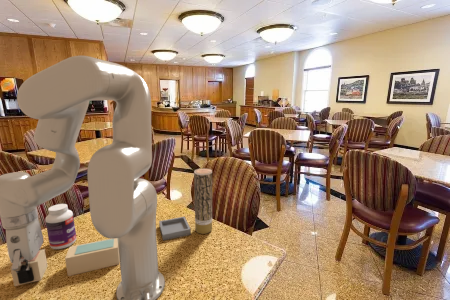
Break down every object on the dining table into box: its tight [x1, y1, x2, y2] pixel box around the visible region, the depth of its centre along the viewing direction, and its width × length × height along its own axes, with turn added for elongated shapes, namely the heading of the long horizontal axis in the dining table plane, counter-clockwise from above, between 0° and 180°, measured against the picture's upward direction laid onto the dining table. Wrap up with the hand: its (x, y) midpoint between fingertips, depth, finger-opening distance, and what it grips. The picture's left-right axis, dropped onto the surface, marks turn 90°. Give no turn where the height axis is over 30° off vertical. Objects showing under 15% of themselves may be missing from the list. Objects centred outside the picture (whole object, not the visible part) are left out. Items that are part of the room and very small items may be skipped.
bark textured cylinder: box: [193, 167, 213, 235], centre depth 91 cm, size 7×7×25 cm
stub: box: [9, 248, 48, 287], centre depth 67 cm, size 6×6×6 cm
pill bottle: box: [45, 203, 77, 250], centre depth 82 cm, size 8×8×14 cm
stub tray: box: [158, 216, 192, 241], centre depth 93 cm, size 11×11×2 cm
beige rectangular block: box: [64, 238, 120, 277], centre depth 73 cm, size 6×14×6 cm, turn 112°
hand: (31, 273), depth 67 cm, fingers closed on stub, 6 cm apart
